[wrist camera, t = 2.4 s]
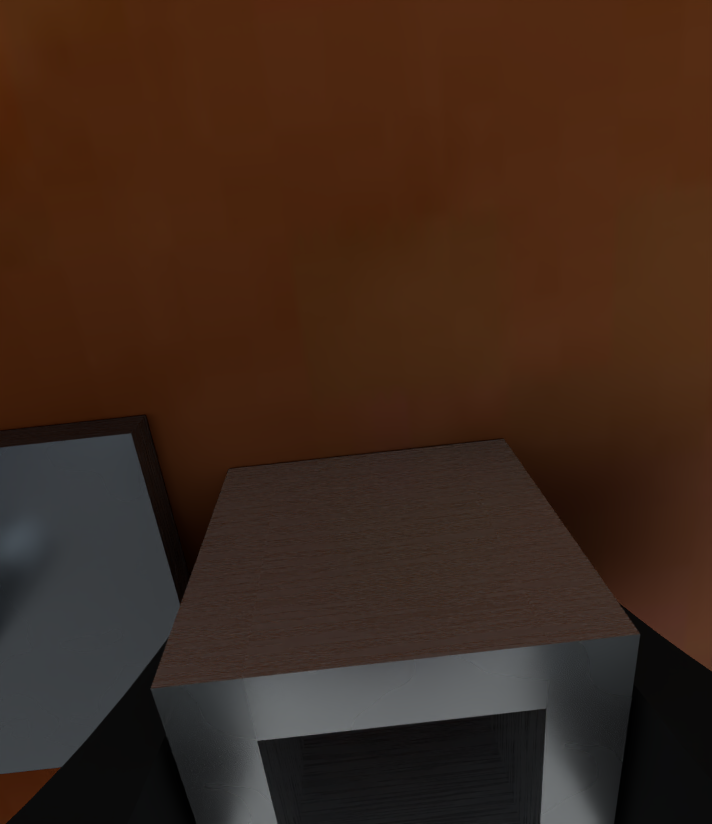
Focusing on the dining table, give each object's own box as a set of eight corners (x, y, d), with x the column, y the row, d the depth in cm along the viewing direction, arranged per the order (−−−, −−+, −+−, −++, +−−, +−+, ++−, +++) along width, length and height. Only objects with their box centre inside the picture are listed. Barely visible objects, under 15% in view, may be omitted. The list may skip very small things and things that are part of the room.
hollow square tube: (272, 672, 13) (239, 952, 8) (228, 469, 11) (150, 688, 6) (502, 646, 13) (601, 909, 8) (503, 438, 11) (640, 634, 6)
